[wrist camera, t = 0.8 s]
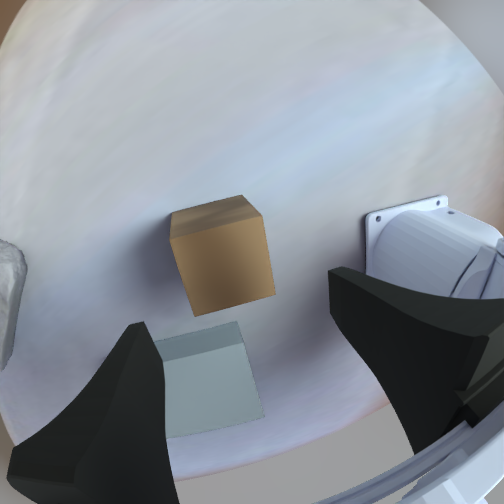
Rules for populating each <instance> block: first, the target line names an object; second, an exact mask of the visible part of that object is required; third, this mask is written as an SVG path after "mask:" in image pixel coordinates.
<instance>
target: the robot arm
mask: <svg viewBox="0 0 504 504" xmlns="http://www.w3.org/2000/svg"><path fill="white" fill-rule="evenodd" d="M377 216H378V219H377V220H376V217H377ZM328 280H329V301H330V314H331V315H332V317H333V319H334V321H335V322H336V324H337V326H338V328H339V329H340V331H341V332H342V334H343V335H344V336H345V338H346V339H347V340H348V341H349V343H350V344H351V345H352V346H353V348H354V349H355V350H356V351H357V353H358V354H359V355H360V357H361V358H362V359H363V360H364V362H365V363H366V364H367V365H368V367H369V368H370V369H371V371H372V372H373V374H374V375H375V376H376V378H377V380H378V381H379V383H380V385H381V386H382V388H383V390H384V391H385V393H386V395H387V397H388V399H389V400H390V402H391V404H392V406H393V408H394V409H395V412H396V414H397V416H398V418H399V420H400V422H401V424H402V426H403V428H404V430H405V432H406V435H407V437H408V440H409V442H410V445H411V447H412V449H413V452H414V456H413V457H411V458H409V459H408V460H406V461H404V462H402V463H401V464H399V465H397V466H395V467H394V468H392V469H390V470H388V471H386V472H384V473H382V474H380V475H379V476H377V477H375V478H373V479H370V480H368V481H366V482H365V483H362V484H360V485H358V486H356V487H353V488H351V489H349V490H347V491H344V492H342V493H339V494H337V495H334V496H332V497H329V498H327V499H324V500H321V501H318V502H316V503H313V504H372V503H374V502H376V501H378V500H380V499H382V498H384V497H386V496H388V495H390V494H392V493H394V492H395V491H397V490H399V489H401V488H403V487H404V486H406V485H407V484H409V483H411V482H413V481H414V480H416V479H417V478H419V477H421V476H422V475H424V474H425V473H427V472H428V471H430V470H431V469H432V470H431V471H430V472H428V473H427V474H426V475H424V476H423V477H422V478H421V479H419V480H418V482H417V484H416V485H415V486H414V487H413V489H412V490H410V491H409V492H408V493H407V494H406V495H404V496H403V497H402V500H401V501H399V502H397V503H395V504H488V503H487V502H486V500H485V499H484V497H485V495H487V494H488V493H489V492H490V491H491V490H492V489H493V488H494V487H495V486H496V485H497V484H498V483H499V481H500V480H501V479H502V478H503V477H504V237H503V236H502V235H501V234H500V233H499V231H498V230H497V229H495V228H494V227H492V226H491V225H489V224H486V223H484V222H482V221H480V220H478V219H475V218H473V217H471V216H469V215H466V214H464V213H462V212H459V211H457V210H455V209H452V208H450V207H448V198H447V196H445V195H440V196H436V197H432V198H428V199H424V200H420V201H416V202H412V203H408V204H404V205H400V206H396V207H392V208H388V209H384V210H380V211H376V212H372V213H369V214H368V215H367V216H366V274H363V273H360V272H358V271H355V270H352V269H349V268H346V267H342V266H341V267H338V268H335V269H332V270H329V271H328ZM434 467H435V468H434ZM433 468H434V469H433ZM7 480H8V482H9V483H10V485H11V486H12V487H13V488H14V489H15V490H17V491H18V492H20V493H21V494H23V495H24V496H26V497H27V498H29V499H31V500H32V501H34V502H36V503H37V504H180V503H179V500H178V497H177V492H176V489H175V484H174V480H173V476H172V471H171V466H170V461H169V455H168V449H167V443H166V431H165V375H164V366H163V360H162V358H161V356H160V354H159V352H158V350H157V348H156V346H155V344H154V342H153V340H152V338H151V336H150V334H149V332H148V329H147V327H146V325H145V323H144V321H143V322H139V323H135V324H130V325H129V326H128V327H127V328H126V330H125V331H124V333H123V334H122V335H121V337H120V338H119V340H118V341H117V343H116V345H115V346H114V348H113V349H112V350H111V352H110V353H109V355H108V356H107V358H106V359H105V361H104V362H103V364H102V365H101V366H100V368H99V369H98V371H97V372H96V373H95V375H94V376H93V377H92V379H91V380H90V381H89V383H88V384H87V385H86V386H85V388H84V389H83V390H82V391H81V392H80V393H79V394H78V396H77V397H76V398H75V399H74V400H73V401H72V402H71V403H70V404H69V405H68V406H67V407H66V408H65V409H64V410H63V411H62V412H61V413H60V414H59V415H58V416H57V417H55V418H54V419H53V420H52V421H51V422H50V423H48V424H47V425H46V426H45V427H43V428H42V429H41V430H40V431H38V432H37V433H35V434H34V435H33V436H31V437H30V438H28V439H27V440H25V441H23V442H22V443H20V444H19V445H17V446H15V447H14V448H13V450H12V454H11V458H10V463H9V468H8V472H7Z"/></svg>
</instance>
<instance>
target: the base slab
mask: <svg viewBox="0 0 504 504" xmlns="http://www.w3.org/2000/svg"><path fill="white" fill-rule="evenodd" d="M154 344H155V346H156V348H157V350H158V352H159V354H160V356H161V358H162V360H163V366H164V375H165V431H166V439H168V438H174V437H181V436H186V435H192V434H197V433H202V432H207V431H212V430H217V429H221V428H225V427H230V426H234V425H238V424H242V423H245V422H249V421H253V420H257V419H260V418H264V417H265V415H264V412H263V409H262V405H261V402H260V399H259V395H258V392H257V388H256V385H255V381H254V378H253V374H252V371H251V367H250V364H249V360H248V356H247V353H246V349H245V346H244V342H243V339H242V336H241V333H240V330H239V327H238V323H237V321H235V322H231V323H227V324H224V325H220V326H216V327H212V328H208V329H205V330H201V331H197V332H193V333H189V334H185V335H180V336H176V337H172V338H168V339H164V340H159V341H155V342H154Z"/></svg>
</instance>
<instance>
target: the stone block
mask: <svg viewBox="0 0 504 504" xmlns="http://www.w3.org/2000/svg"><path fill="white" fill-rule="evenodd" d="M26 274H27V264H26V262H25V259H24V255H23V253H22V251H21V250H19V249H18V248H17V247H15V246H14V245H12V244H10V243H8V242H7V241H3V240H1V239H0V371H2V370H4V368H5V366H6V365H7V362H8V360H9V358H10V357H11V355H12V351H13V344H14V335H15V328H16V322H17V316H18V311H19V306H20V300H21V294H22V290H23V286H24V282H25V278H26Z"/></svg>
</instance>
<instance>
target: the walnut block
mask: <svg viewBox="0 0 504 504" xmlns="http://www.w3.org/2000/svg"><path fill="white" fill-rule="evenodd" d="M169 241H170V244H171V247H172V250H173V254H174V257H175V260H176V263H177V266H178V269H179V272H180V275H181V278H182V281H183V284H184V287H185V290H186V293H187V296H188V299H189V302H190V305H191V308H192V311H193V313H194V316H195V317H196V316H200V315H204V314H207V313H211V312H215V311H219V310H223V309H226V308H230V307H234V306H237V305H241V304H244V303H248V302H252V301H255V300H259V299H262V298H266V297H269V296H272V295H276V293H275V287H274V281H273V275H272V269H271V263H270V257H269V252H268V246H267V240H266V234H265V229H264V223H263V217H262V215H261V214H260V213H259V212H258V211H257V210H256V209H255V208H254V207H253V206H252V205H251V204H250V203H249V202H248V201H247V199H246V198H245V197H244V196H243V195H239V196H234V197H230V198H226V199H222V200H218V201H214V202H210V203H206V204H202V205H198V206H194V207H190V208H187V209H183V210H179V211H175V212H172V217H171V227H170V237H169Z"/></svg>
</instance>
